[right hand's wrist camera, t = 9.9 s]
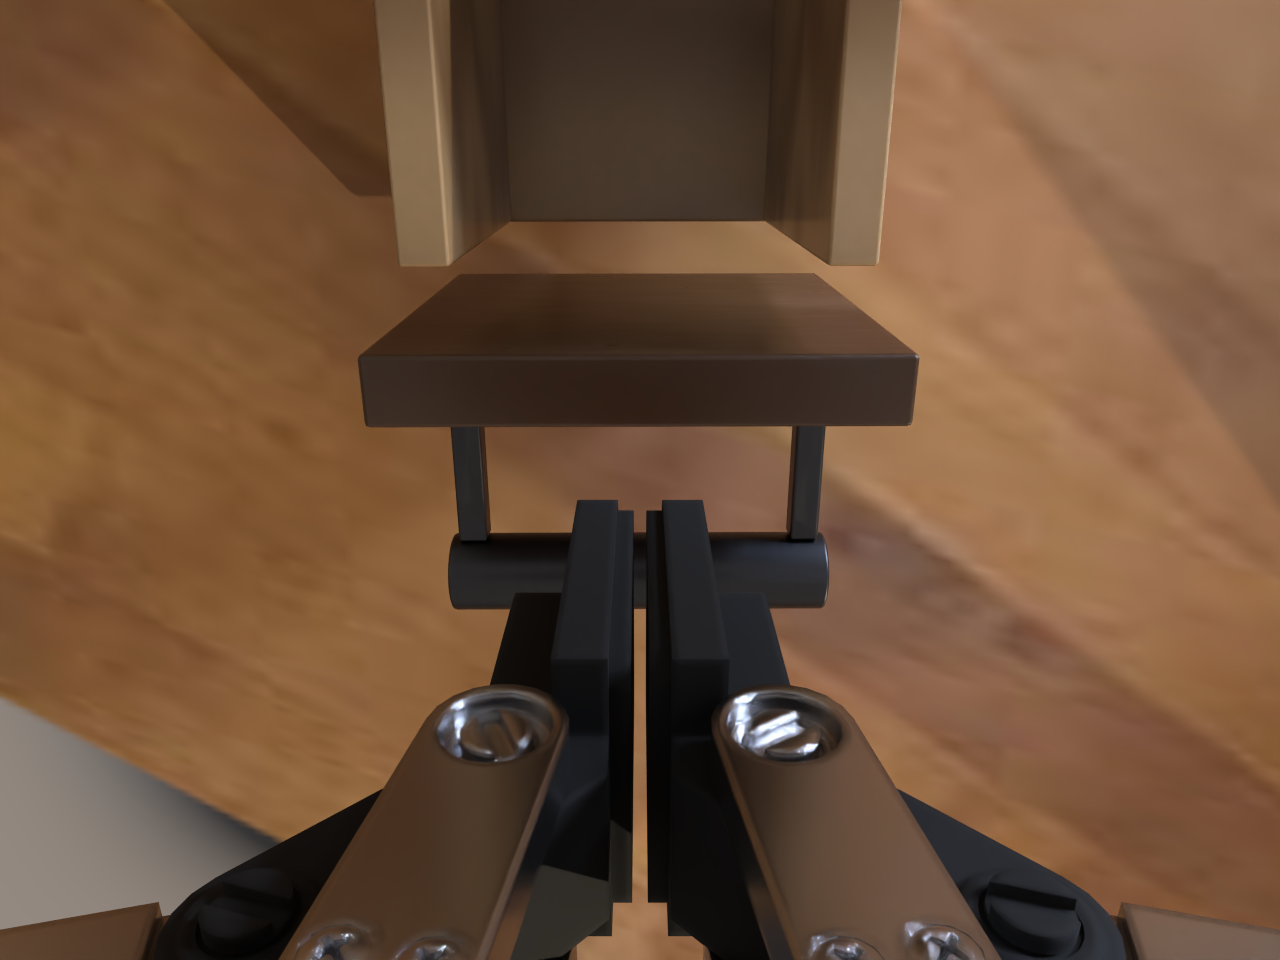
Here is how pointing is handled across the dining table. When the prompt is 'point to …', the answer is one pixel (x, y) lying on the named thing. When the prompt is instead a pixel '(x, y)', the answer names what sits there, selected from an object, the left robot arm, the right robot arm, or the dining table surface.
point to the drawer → (637, 191)
